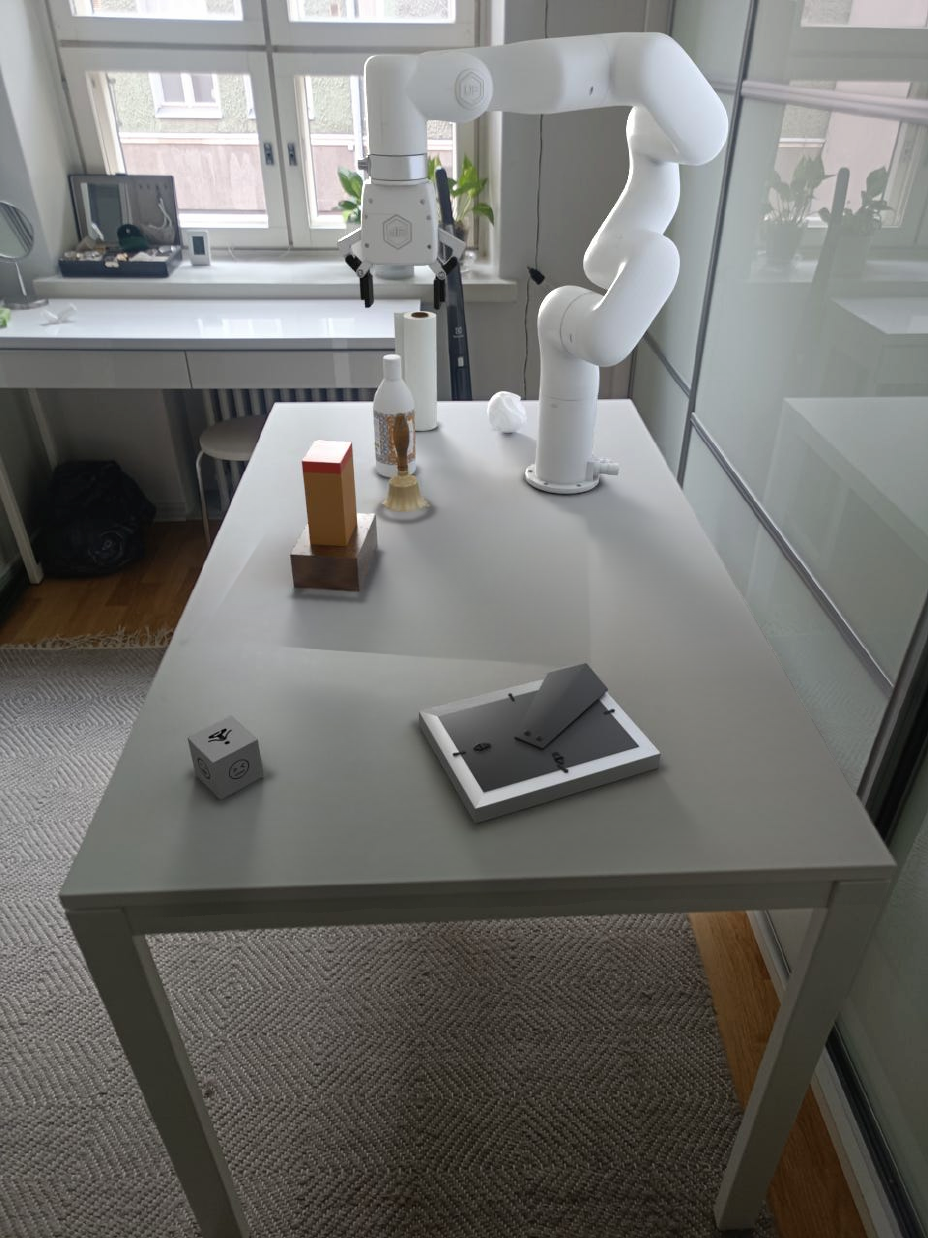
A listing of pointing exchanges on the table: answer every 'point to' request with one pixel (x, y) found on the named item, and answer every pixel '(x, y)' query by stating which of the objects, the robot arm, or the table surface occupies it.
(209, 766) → the dice cube
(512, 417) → the crumpled paper ball
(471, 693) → the table surface
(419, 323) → the paper towel roll
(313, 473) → the container
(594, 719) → the picture frame
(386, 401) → the bath foam
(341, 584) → the walnut box
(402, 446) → the hand bell
